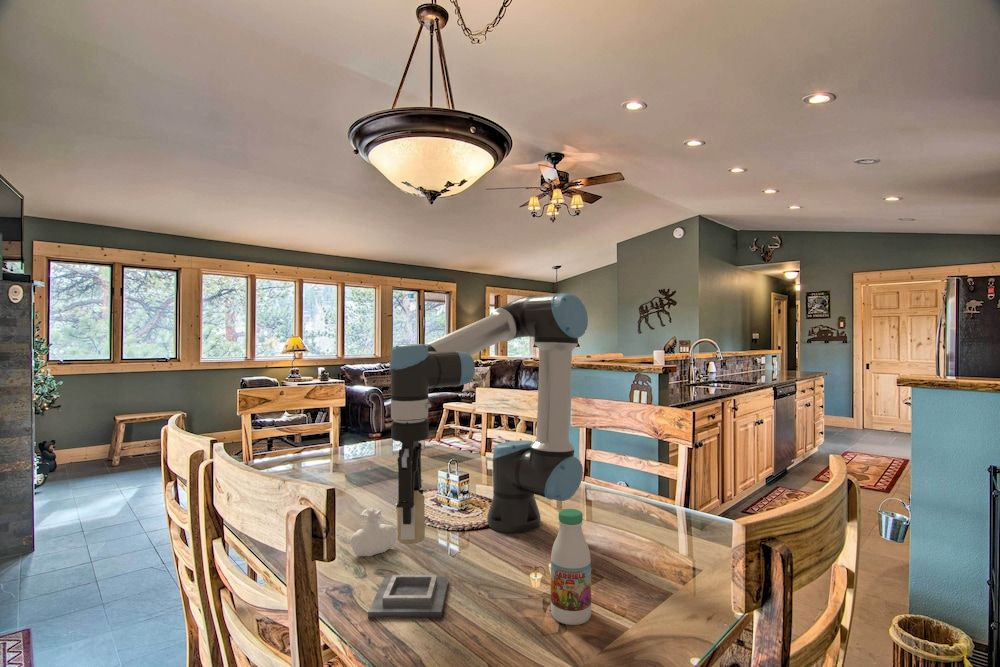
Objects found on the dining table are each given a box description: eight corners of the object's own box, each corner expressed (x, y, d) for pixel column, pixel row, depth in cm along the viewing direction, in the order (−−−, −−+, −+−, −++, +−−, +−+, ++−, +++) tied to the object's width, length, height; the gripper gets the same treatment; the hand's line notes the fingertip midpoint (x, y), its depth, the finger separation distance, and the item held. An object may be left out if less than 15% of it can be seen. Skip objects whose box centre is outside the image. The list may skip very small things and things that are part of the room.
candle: (428, 534, 108) (428, 487, 108) (418, 545, 102) (418, 495, 102) (404, 532, 109) (403, 485, 109) (393, 543, 104) (392, 493, 104)
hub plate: (448, 582, 113) (448, 569, 113) (441, 618, 99) (440, 604, 99) (384, 582, 113) (384, 569, 113) (368, 618, 99) (367, 604, 99)
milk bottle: (547, 605, 103) (547, 505, 103) (585, 603, 104) (585, 504, 104) (555, 627, 96) (554, 520, 95) (595, 625, 96) (595, 518, 96)
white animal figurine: (394, 553, 133) (383, 511, 138) (404, 542, 128) (392, 499, 133) (348, 566, 126) (338, 521, 131) (358, 555, 121) (347, 509, 126)
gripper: (421, 428, 96) (422, 552, 97) (434, 412, 115) (435, 515, 115) (380, 428, 96) (381, 552, 97) (400, 412, 115) (401, 516, 115)
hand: (410, 532), depth 106 cm, fingers closed on candle, 5 cm apart
